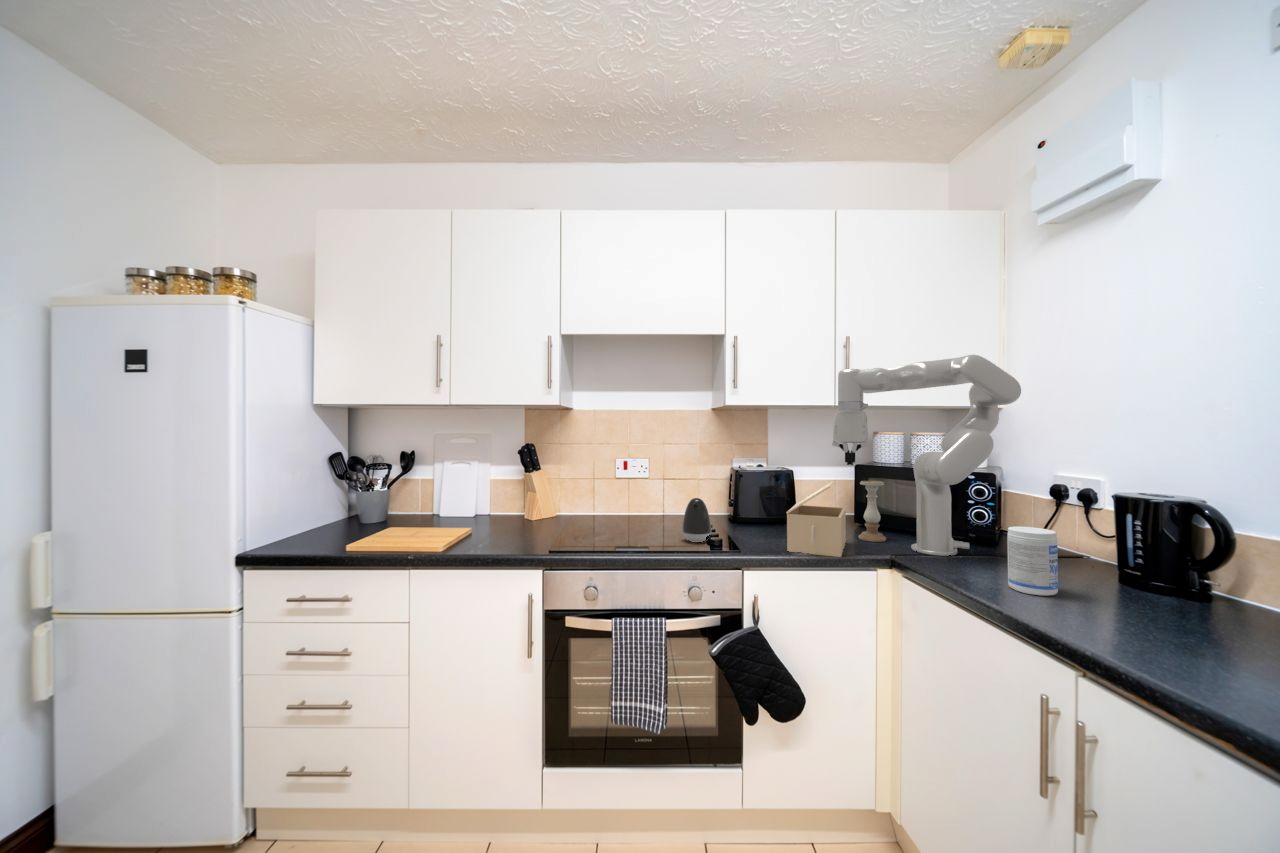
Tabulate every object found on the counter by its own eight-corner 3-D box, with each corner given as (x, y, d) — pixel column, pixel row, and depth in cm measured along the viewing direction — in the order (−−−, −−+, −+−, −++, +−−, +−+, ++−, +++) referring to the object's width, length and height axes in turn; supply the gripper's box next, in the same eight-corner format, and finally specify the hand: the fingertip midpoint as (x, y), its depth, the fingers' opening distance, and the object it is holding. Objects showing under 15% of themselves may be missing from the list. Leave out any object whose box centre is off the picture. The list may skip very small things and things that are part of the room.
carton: (845, 543, 169) (845, 508, 169) (840, 560, 147) (839, 520, 147) (797, 538, 176) (796, 505, 176) (784, 554, 154) (784, 516, 154)
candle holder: (857, 540, 172) (857, 482, 172) (859, 535, 180) (859, 480, 180) (885, 543, 168) (885, 483, 168) (886, 538, 176) (886, 481, 176)
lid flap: (836, 480, 170) (835, 479, 170) (830, 487, 152) (829, 485, 152) (796, 505, 176) (795, 503, 176) (787, 514, 158) (785, 512, 158)
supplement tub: (1063, 599, 113) (1062, 535, 113) (1011, 593, 117) (1011, 531, 118) (1052, 587, 121) (1051, 527, 121) (1004, 582, 126) (1004, 524, 126)
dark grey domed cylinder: (679, 544, 169) (679, 499, 169) (684, 537, 179) (684, 495, 179) (709, 545, 166) (709, 500, 166) (712, 538, 176) (712, 496, 176)
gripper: (876, 408, 159) (876, 465, 159) (826, 408, 165) (826, 463, 165) (876, 407, 152) (875, 466, 152) (824, 407, 159) (824, 464, 159)
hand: (850, 464), depth 159 cm, fingers closed
